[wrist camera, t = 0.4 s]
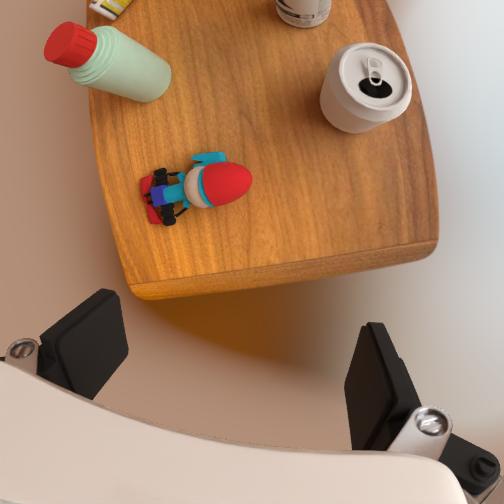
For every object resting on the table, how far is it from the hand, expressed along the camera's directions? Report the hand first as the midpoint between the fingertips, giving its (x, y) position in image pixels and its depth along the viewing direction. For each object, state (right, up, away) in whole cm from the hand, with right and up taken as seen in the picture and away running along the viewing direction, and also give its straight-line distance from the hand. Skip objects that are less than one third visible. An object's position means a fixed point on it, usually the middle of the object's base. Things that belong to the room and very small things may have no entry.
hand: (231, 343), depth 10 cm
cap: (-15, +22, +7) cm, 27 cm away
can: (+12, +20, +19) cm, 30 cm away
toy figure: (-6, +11, +24) cm, 28 cm away
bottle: (-13, +26, +21) cm, 36 cm away
